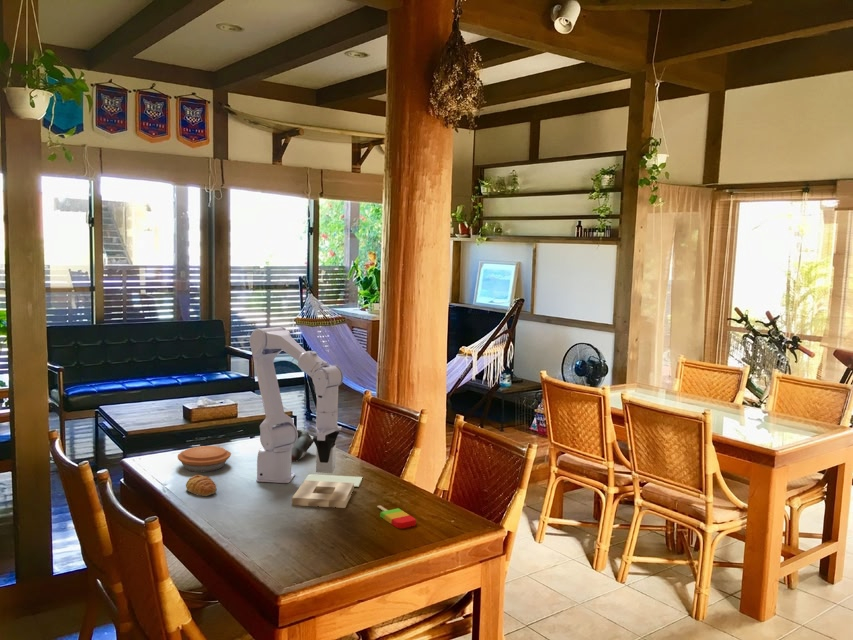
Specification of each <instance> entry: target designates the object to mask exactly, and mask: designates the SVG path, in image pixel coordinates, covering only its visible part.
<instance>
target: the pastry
mask: <svg viewBox="0 0 853 640" xmlns="http://www.w3.org/2000/svg"><path fill="white" fill-rule="evenodd" d="M185 488H186V489H187V492H189V493H190V492H192V493H195V494H198V495H197V496H199V495H202V496H205V497H207V496H210V495H213V494H216V492H217V489H218V488H217V485H216V483H215V481H213V480H212V479H211V478H210V477H208V476H206V475H205V476H204V475H203V474H202V475H201V474H195V475H193V476H191V477H190V478H189V479H188V480H187V481H186V483H185ZM192 493H191V494H192ZM195 494H194V495H195ZM202 496H201V497H202Z"/></svg>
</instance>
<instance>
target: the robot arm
mask: <svg viewBox="0 0 853 640" xmlns="http://www.w3.org/2000/svg"><path fill="white" fill-rule="evenodd" d="M248 342H249V346H250V350H251V355H252V359H253V364H254V369H255V374H256V378H257V383H258V387H259V391H260V396H261V400H262V405H263V410H264V413H265V415H264V416H265V418H264V419H263V421H262V422H261V423H260V425H259V431H260V433H259V435H260V436H259V441H260V444H261V446H262V447H261V448H259V450H258V451H257V457H256V458H257V459H256V479H255V480H256V482H258V483H259V482H262V483H275V484H276V483H278V484H279V483H280V484H289V483H290V482H291V481H292V480H293V478H294V477H295V475H296V473H295V472H292V461H291V457H292V448H293V447H294V444H295V443H296V441H297V439H298V432H297V430H298V429H297V427H296V425H295V424H294V420H293V418H292V417H291V416H289V415H287V414H286V413H285V409H284V404H283V401H282V396H281V395H282V394H281V391H280V386H279V382H278V378H277V377H278V376H277V373H276V368H275V364H274V360H275V358H276V356H279V354H280V353H281V352H282V351H283V352H284V353H286V354H288V355H289V356H290V357H292V358H293V359H294V360H296V361H297V366H298V368H299V369H300V370H302V371H303V372H304V373H305V374H307V376H308V377H310V378H311V380H312V385H314V390H315V391H314V392H315V394H316V412H315V413H316V416H315V418H316V419H315V422H316V423H315V426H314V427H315V428H314V429H315V431H316V435H313V437H312V439H313V441H314V442H313V443H314V445H315V447H316V451H317V450H318V455H319V460H320V462H322V463H328V460H329V456H330V450H331V446H332V443H336V442H337V438H338V436H339V434H340V431H342V429H343V427H342V426H339V425H338V417H339V415H338V414H339V413H338V411H339V386H341V385H342V384H343V382H344V381H343V380H344V373H343V370H342V369H341V368H340V367H339V365H337V364H330V363H328V361H326V360H324V359H323V358H321V357H320V356H319V355H318V352H316V351H315V350H314V351H312V350H307V351H306V350H305V349H304V348H303V347H302V346H301V345H300V344H299V343H298V341H296V340H295V339H294V338H293V337H292V336H291V332H290V331H289V330H288V329H286V327H284V326H277V327H275V326H274V327H273V326H272V327H263V328H255V329H254V330H252V332H251V334H250V336H249V339H248ZM277 424H279V425H281V426H276V427H273V426H274V425H277Z"/></svg>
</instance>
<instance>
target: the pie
mask: <svg viewBox="0 0 853 640" xmlns="http://www.w3.org/2000/svg"><path fill="white" fill-rule="evenodd" d="M231 456H232V453H231V452H230V451H229V450H226V448H224V447H220V446H213V445H202V446H201V445H200V446H195V447H190V448H187V449H185V450H183V451H181V452H180V453H178V454H177V460H179V462H181V465H182V467H184V469H185V468H186V470H187V471H189V470H190V471H189V472H195V471H199V472H198V473H200V472H201V471H202V472H201V473H203V471H207V472H212V471H216V470H219V469H221V468H223V467H224V465H225V464H226V462H227V460H228V459H230V457H231Z"/></svg>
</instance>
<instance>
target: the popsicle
mask: <svg viewBox="0 0 853 640" xmlns="http://www.w3.org/2000/svg"><path fill="white" fill-rule="evenodd" d="M376 507H377V508H378V509H380V510H381V511H380V513H379V517H380V518H382V519H383V520H384V521H386V522H388V523H389V524H390V525H392V526H393V527H395V528H397V529H406V528H411V526H412V527H415V526H416V525H417V519H416V518H415V517H413V516H412V515H410V514H408V513H407V512H405V511H404V510H402V509H400V508H398V507H397V508H393V509H387V508H385V507H384V506H382V505H381V504H380V505H377V506H376Z"/></svg>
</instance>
